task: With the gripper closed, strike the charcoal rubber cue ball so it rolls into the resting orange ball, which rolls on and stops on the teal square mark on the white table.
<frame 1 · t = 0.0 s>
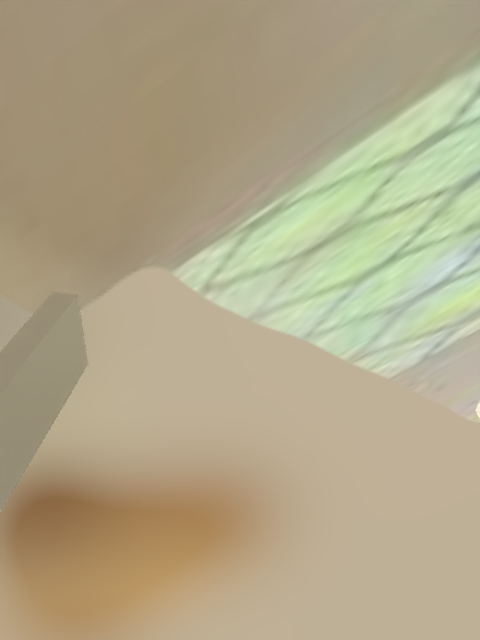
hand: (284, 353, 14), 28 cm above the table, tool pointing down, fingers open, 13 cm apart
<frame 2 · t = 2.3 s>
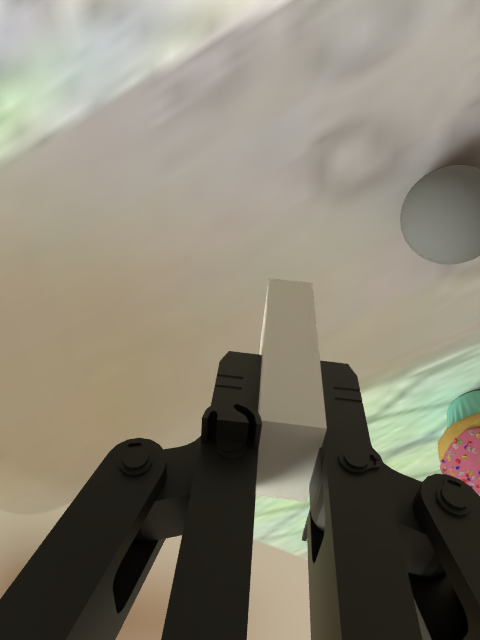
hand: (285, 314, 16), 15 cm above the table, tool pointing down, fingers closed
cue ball: (451, 215, 25), on the table
cupcake: (477, 407, 37), on the table
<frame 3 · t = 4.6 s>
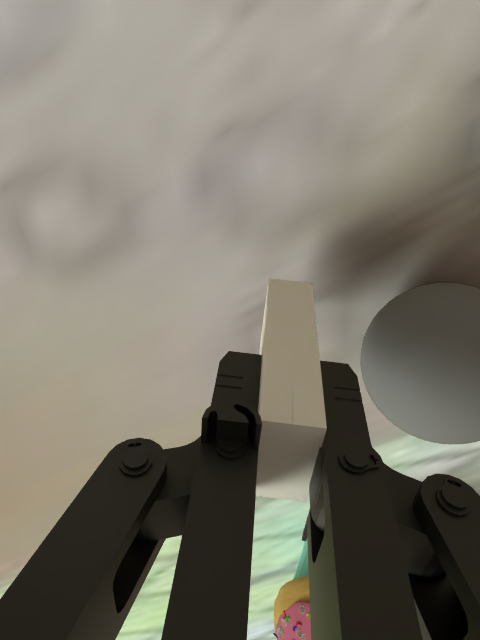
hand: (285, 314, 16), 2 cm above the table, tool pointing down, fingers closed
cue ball: (442, 362, 15), on the table
cupcake: (345, 536, 27), on the table
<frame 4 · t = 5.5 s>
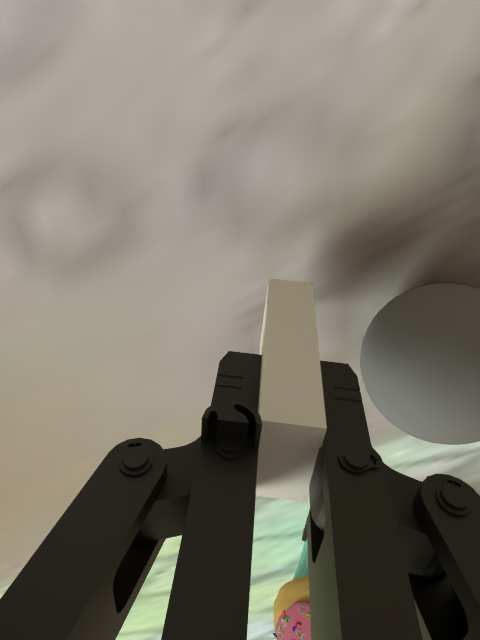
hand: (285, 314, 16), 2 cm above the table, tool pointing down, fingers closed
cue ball: (442, 362, 15), on the table
cupcake: (344, 536, 27), on the table
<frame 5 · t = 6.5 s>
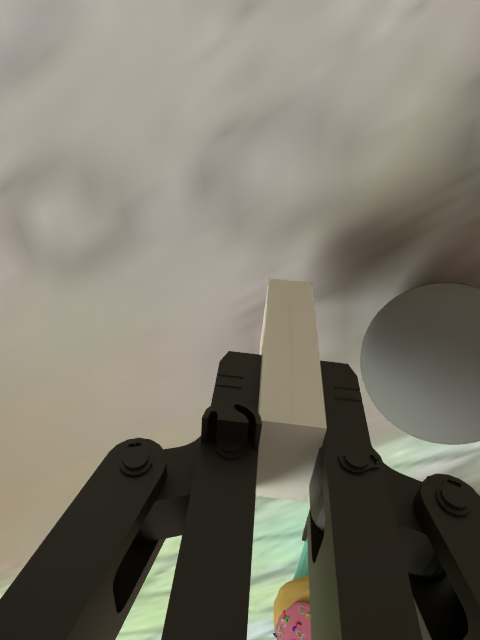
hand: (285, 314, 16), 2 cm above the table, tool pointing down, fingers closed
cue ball: (442, 362, 15), on the table
cupcake: (344, 536, 27), on the table
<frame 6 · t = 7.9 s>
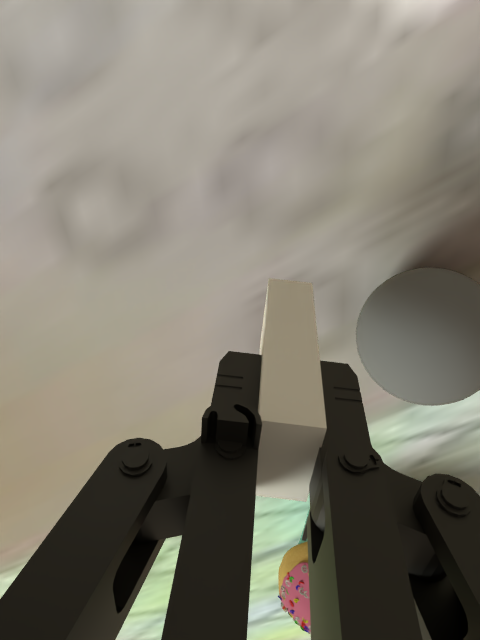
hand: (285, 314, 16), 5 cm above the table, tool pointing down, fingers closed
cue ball: (426, 336, 18), on the table
cupcake: (344, 512, 29), on the table
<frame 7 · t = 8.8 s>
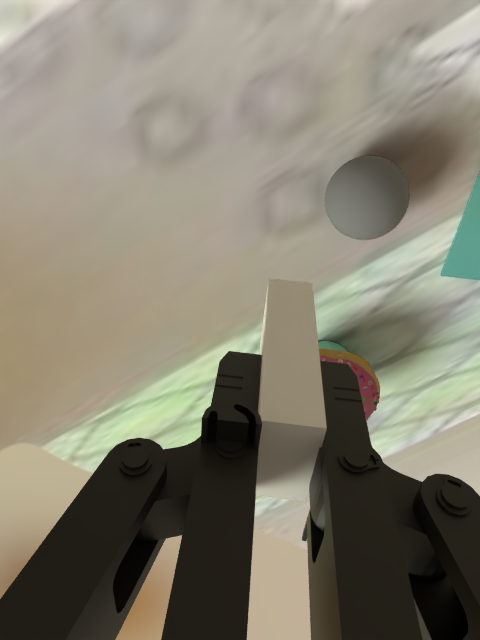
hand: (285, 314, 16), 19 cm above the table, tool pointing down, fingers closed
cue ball: (366, 198, 30), on the table
cupcake: (324, 358, 41), on the table
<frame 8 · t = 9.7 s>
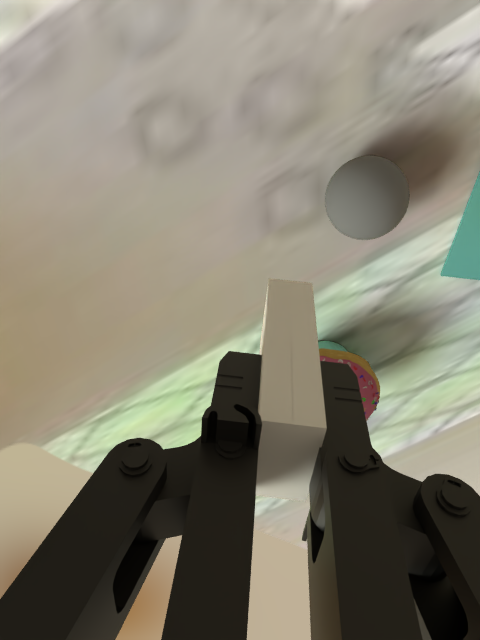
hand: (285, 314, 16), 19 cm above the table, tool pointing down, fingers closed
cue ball: (366, 198, 30), on the table
cupcake: (324, 358, 41), on the table
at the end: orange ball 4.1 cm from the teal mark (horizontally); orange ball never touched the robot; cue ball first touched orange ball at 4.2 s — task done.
